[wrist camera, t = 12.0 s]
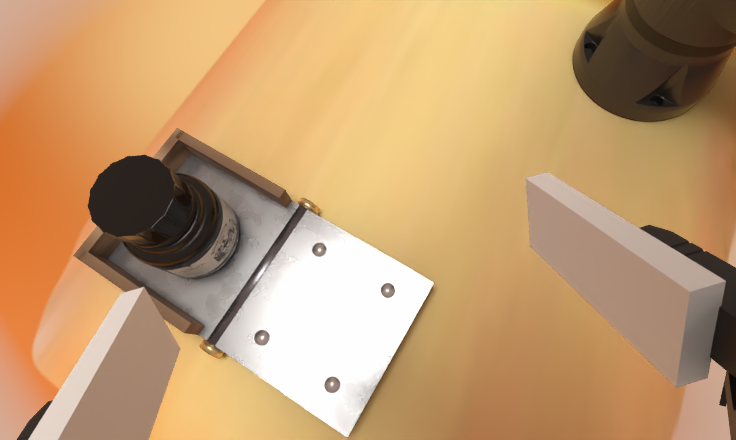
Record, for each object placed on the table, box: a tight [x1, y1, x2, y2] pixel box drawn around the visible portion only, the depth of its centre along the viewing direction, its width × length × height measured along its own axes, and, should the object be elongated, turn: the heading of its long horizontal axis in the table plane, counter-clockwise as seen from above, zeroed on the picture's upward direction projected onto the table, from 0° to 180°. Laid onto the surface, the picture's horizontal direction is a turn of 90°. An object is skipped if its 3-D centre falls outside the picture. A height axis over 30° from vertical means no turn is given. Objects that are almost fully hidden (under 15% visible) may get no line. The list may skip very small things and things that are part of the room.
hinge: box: [108, 153, 434, 437], centre depth 43 cm, size 18×31×3 cm, turn 59°
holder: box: [73, 128, 292, 335], centre depth 43 cm, size 16×14×3 cm
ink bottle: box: [88, 155, 239, 278], centre depth 38 cm, size 10×9×12 cm
